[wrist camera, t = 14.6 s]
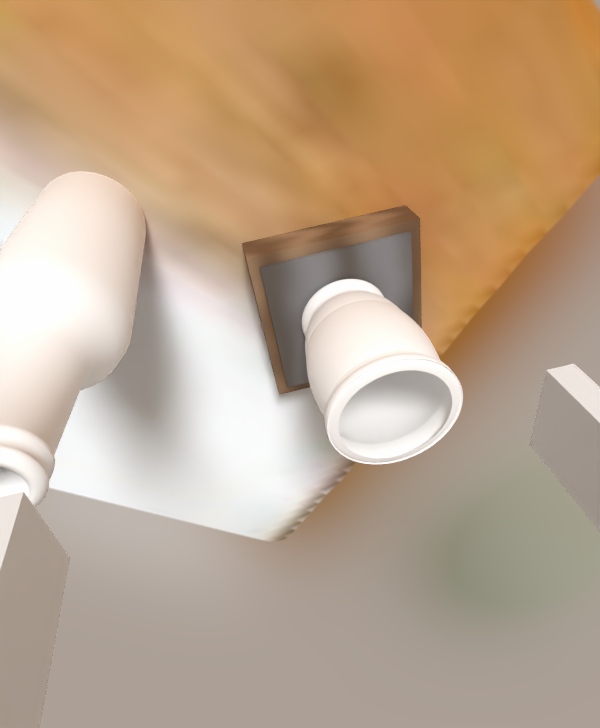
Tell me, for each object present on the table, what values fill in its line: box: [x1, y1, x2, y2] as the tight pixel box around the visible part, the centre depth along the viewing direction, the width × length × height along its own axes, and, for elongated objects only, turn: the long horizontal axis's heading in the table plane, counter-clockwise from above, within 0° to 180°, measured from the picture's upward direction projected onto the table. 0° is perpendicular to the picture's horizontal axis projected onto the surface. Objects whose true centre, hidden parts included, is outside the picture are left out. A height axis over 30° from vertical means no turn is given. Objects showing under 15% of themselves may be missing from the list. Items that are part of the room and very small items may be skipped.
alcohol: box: [0, 171, 146, 507], centre depth 32 cm, size 9×9×30 cm
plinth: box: [242, 205, 422, 394], centre depth 51 cm, size 16×16×4 cm
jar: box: [302, 279, 463, 464], centre depth 43 cm, size 11×10×15 cm
